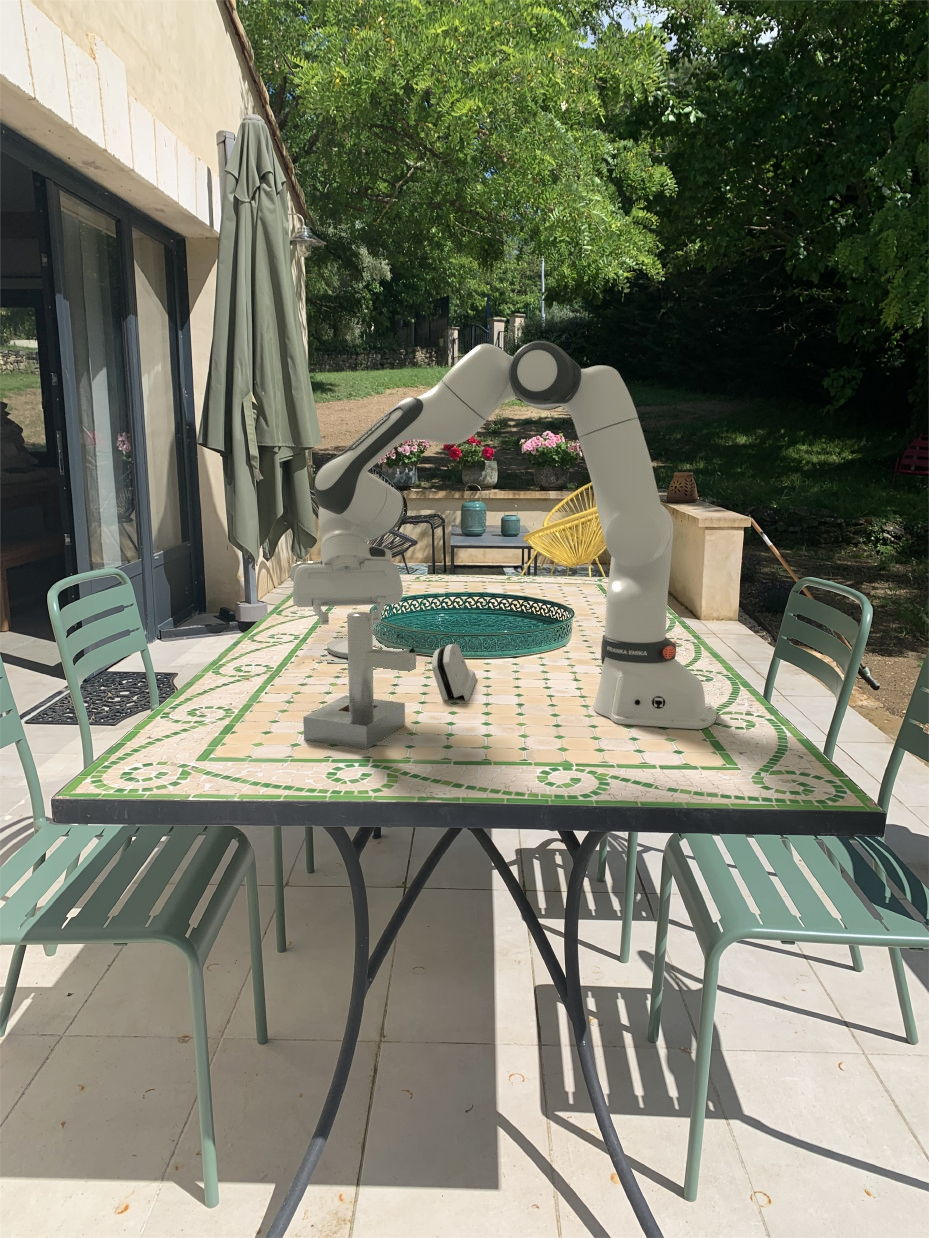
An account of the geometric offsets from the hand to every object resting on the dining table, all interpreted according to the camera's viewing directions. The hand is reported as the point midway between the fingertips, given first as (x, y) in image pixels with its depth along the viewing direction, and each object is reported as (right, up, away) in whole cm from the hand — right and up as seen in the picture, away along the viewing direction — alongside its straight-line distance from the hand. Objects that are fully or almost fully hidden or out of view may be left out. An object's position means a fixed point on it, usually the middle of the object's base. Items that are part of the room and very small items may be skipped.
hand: (350, 622), depth 163 cm
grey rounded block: (+18, -14, +19) cm, 30 cm away
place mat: (-2, -8, +51) cm, 52 cm away
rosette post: (+5, -19, -9) cm, 22 cm away
